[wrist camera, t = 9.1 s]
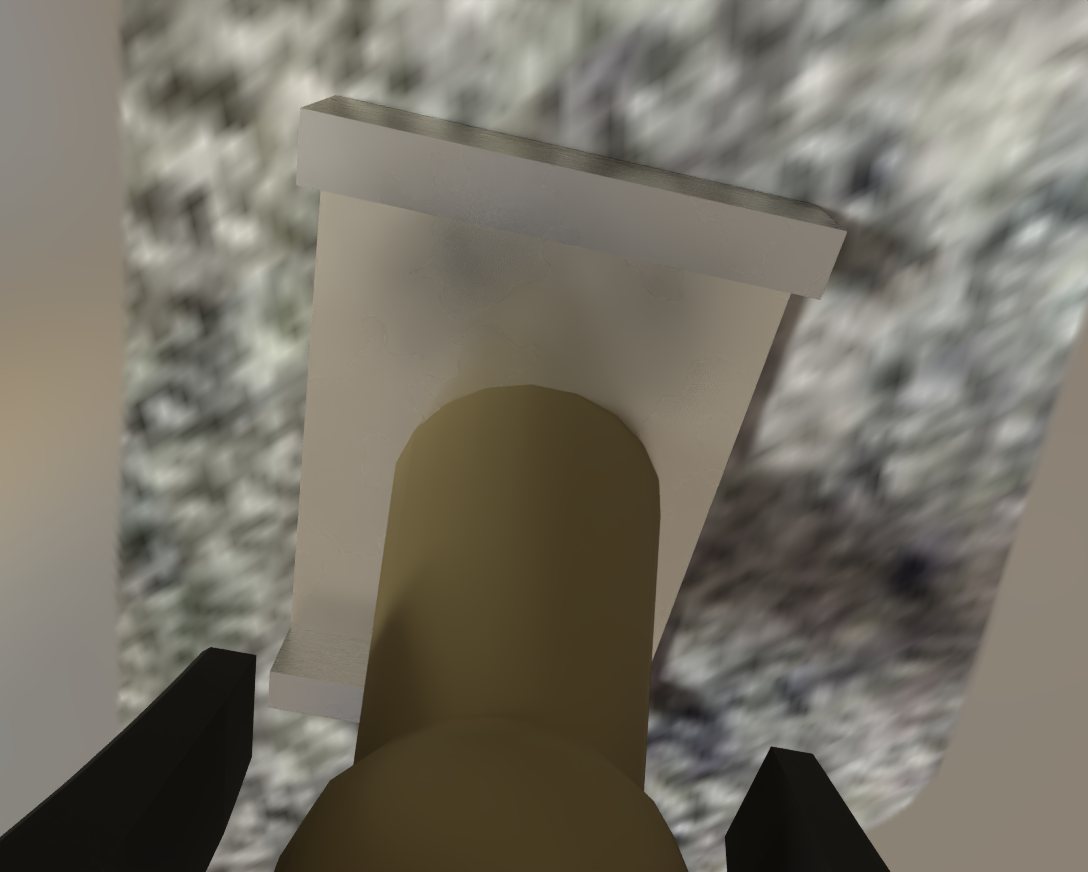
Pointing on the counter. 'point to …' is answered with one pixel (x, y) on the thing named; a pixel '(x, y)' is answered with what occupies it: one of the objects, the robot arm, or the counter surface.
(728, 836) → the robot arm
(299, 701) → the bottom track
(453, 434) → the brown rounded piece
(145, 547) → the counter surface
